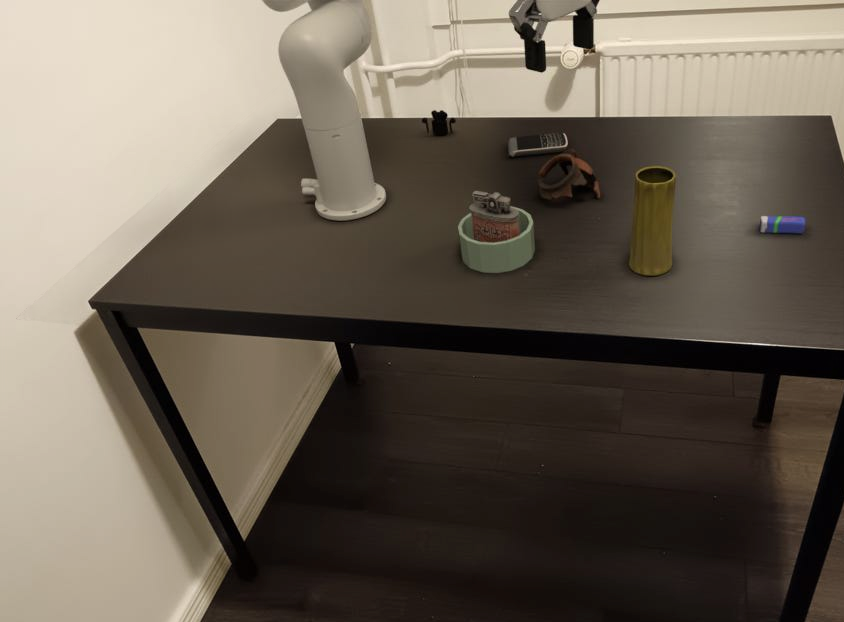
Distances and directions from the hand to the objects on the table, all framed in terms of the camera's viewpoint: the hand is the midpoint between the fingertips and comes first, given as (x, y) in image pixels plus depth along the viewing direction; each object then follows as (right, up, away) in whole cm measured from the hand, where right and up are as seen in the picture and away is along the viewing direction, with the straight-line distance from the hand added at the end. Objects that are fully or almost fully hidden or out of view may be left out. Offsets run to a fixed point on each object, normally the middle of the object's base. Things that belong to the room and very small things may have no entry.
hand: (560, 58), depth 102 cm
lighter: (-8, -25, +14) cm, 29 cm away
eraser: (+34, -22, +10) cm, 42 cm away
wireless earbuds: (-18, +5, +50) cm, 53 cm away
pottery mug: (+5, -13, +26) cm, 29 cm away
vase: (+14, -27, +7) cm, 31 cm away
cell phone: (+1, -1, +40) cm, 40 cm away
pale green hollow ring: (-8, -24, +14) cm, 29 cm away
